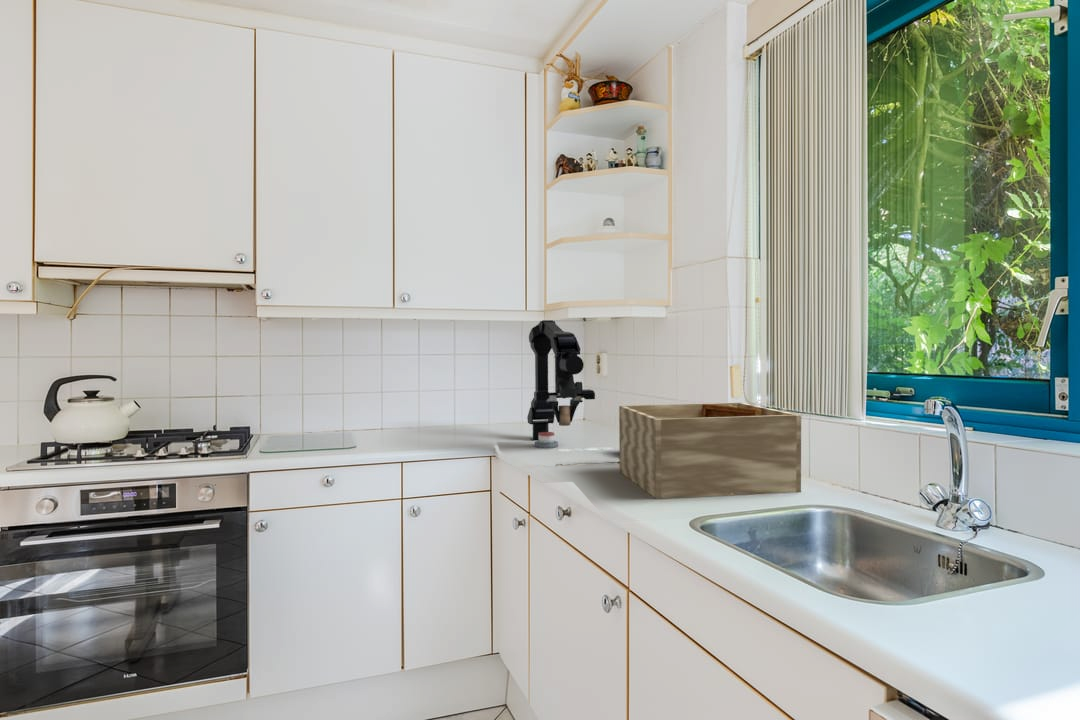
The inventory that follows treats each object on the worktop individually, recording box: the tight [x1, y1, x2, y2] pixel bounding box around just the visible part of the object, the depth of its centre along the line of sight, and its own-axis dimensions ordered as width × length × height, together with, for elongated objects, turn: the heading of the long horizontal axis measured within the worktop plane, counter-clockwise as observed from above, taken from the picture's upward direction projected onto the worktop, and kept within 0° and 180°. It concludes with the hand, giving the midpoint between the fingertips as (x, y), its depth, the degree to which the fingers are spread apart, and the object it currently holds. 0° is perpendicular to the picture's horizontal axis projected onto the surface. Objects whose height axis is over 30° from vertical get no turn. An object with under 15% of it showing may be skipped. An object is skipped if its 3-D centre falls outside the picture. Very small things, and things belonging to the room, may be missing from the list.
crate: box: [618, 402, 802, 500], centre depth 154 cm, size 29×35×18 cm
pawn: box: [558, 404, 571, 427], centre depth 192 cm, size 4×4×6 cm
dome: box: [538, 431, 555, 444], centre depth 200 cm, size 5×5×3 cm
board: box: [534, 440, 614, 453], centre depth 198 cm, size 15×24×2 cm, turn 99°
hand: (564, 422), depth 192 cm, fingers closed on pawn, 4 cm apart
